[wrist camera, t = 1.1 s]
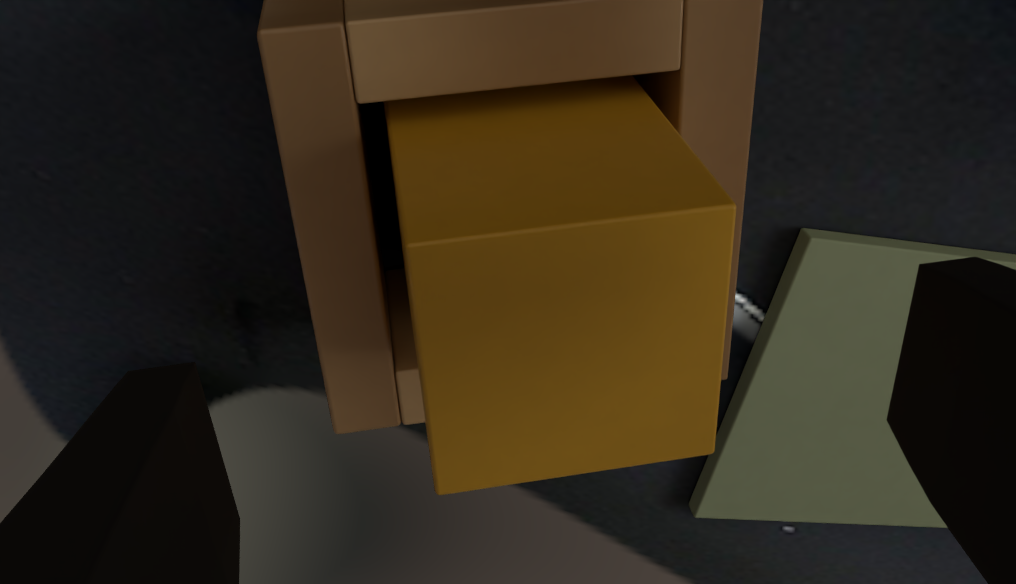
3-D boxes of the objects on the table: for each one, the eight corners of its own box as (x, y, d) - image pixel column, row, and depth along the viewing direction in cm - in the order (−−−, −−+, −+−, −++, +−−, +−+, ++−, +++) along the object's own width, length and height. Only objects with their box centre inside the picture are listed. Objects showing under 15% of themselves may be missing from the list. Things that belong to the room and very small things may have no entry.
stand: (332, 325, 20) (334, 436, 17) (268, -33, 16) (255, 30, 13) (670, 282, 20) (728, 380, 17) (688, -70, 16) (767, -19, 14)
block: (401, 249, 19) (435, 498, 13) (376, 53, 17) (405, 244, 11) (597, 225, 19) (716, 455, 13) (598, 30, 17) (739, 203, 11)
